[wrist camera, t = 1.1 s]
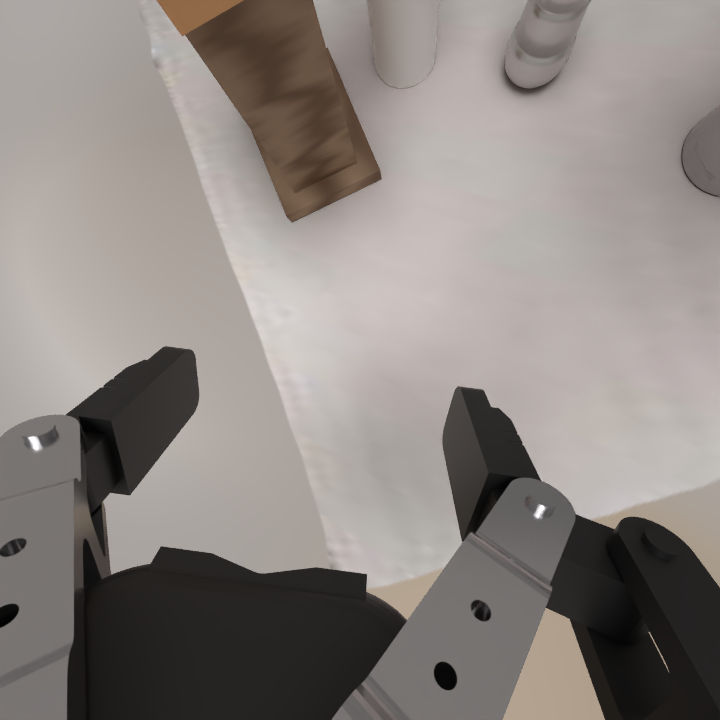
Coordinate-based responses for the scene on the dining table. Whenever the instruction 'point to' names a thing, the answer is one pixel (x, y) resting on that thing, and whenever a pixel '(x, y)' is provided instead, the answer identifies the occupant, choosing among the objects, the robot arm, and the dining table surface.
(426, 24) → the cylindrical container
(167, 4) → the orange bar
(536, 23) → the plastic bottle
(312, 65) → the walnut stand
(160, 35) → the dining table surface
